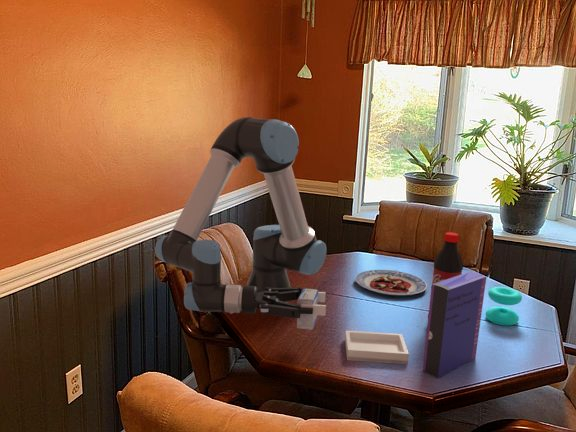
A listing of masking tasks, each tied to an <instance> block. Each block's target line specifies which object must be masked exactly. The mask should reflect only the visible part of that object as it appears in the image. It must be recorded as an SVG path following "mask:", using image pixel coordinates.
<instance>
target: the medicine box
mask: <svg viewBox="0 0 576 432" xmlns="http://www.w3.org/2000/svg"><path fill="white" fill-rule="evenodd" d="M318 292H319V289H314V288H302V293H301V294H300V296H299V298H298V300H297V305H300V306H301V304H314V305H319V304H318V303H319V302H318ZM317 320H318V315H301V314H300V318H296V321H297V322H296V328H297V329H303V330H310V331H313V330H314V327H315V324H316V322H317Z"/></svg>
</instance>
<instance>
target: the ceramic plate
mask: <svg viewBox="0 0 576 432" xmlns="http://www.w3.org/2000/svg"><path fill="white" fill-rule="evenodd" d="M355 281H356V283H357V284H358V285H359V286H360V287H362V288H364V289H367V290H368V291H371V292H375V293H377V294H378V293H379V294H383V295H389V296H391V295H392V296H412V295H417V294H421V293H423V292H424V291H426V290H427V288H428V284H427V282H426V281H425V280H423V279H422V278H421V277H419V276H417V275H414V274H412V273H408V272H405V271H399V270H391V269H371V270H365V271H362V272H360V273H357V275H355Z"/></svg>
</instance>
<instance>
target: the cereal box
mask: <svg viewBox="0 0 576 432" xmlns="http://www.w3.org/2000/svg"><path fill="white" fill-rule="evenodd" d="M486 282H487V276H485V275H484V274H482V273H479V272H474V271H468V272H465V273H462V274H461V275H458V276H455V277H452V278H449V279H446V280H443V281H440V282H437V283H434V284H432V283H431V286H432V288H431V287H430V290H431V291H430V296H429V297H430V298H429V299H430V300H429V308H428V313H429V315H427V325H426V334H425V342H424V344H425V345H424V352H423V361H422V370H421V371H422V372H424V373H426V374H428V375H430V376H432V377H434V378H436V379H439V378H442V377H444V376H445V375H447V374H449V373H451V372H453V371H455V370H458V369H459V368H461V367H463V366H465V365H466V364H469V363H471V362H473V361H474V360H476V356H477V349H478V342H479V336H480V327H481V322H482V321H481V319H482V313H483V306H484V305H483V304H484V297H485V290H486V284H487V283H486Z"/></svg>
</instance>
